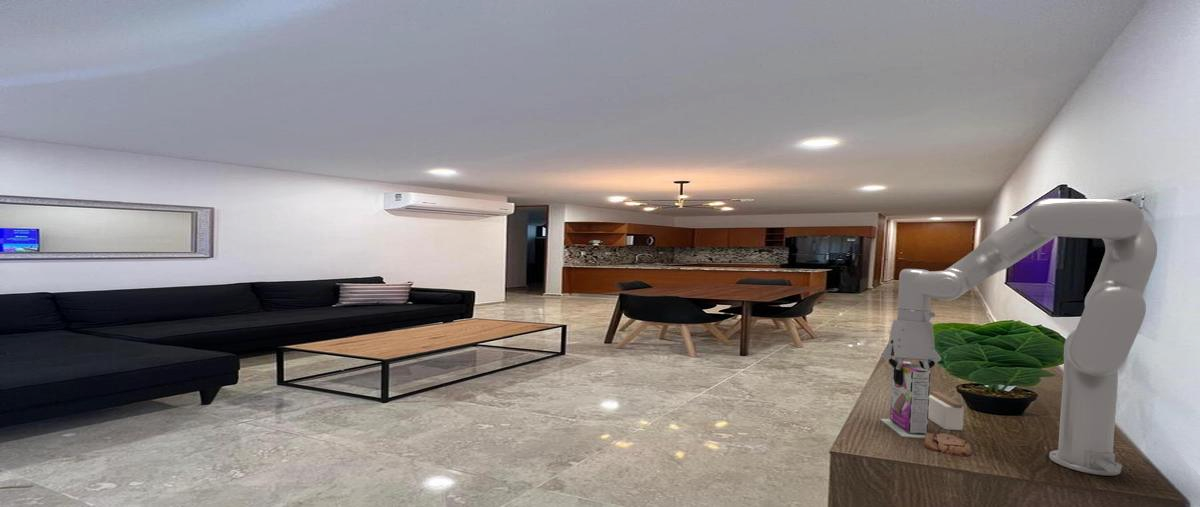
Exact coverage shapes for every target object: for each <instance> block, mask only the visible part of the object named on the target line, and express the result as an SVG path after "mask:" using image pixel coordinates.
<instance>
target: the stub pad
mask: <svg viewBox="0 0 1200 507" xmlns="http://www.w3.org/2000/svg"><path fill="white" fill-rule="evenodd" d="M879 420H880V421H881V422H883V424H885V425H887V427H889V428H890V429H891V430H893V431H894V432H895V433H897V434H898V435H899V436H900V437H902V438H912V439H913V438H915V439H925V435H926V434H913V433H909V432H907V431H906V430H904V429H903V428H902V427H900V426H899V425H897V424H896V423H894V422H893V421H891V420H890V418H880V419H879ZM928 433H929V432H927V434H928Z"/></svg>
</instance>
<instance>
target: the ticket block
mask: <svg viewBox="0 0 1200 507" xmlns="http://www.w3.org/2000/svg"><path fill="white" fill-rule="evenodd" d="M964 411H965V408H964V407H963V404H962V403H960V402H958V401H957V400H954V399H952V398H951V397H949V396H947V395H945V394H944V393H941V392H940V391H936V390H935V391H933V390H931V391H930V394H929V410H928V421H929V420H930V421H929V422H930V423H933V424H934V425H936V426H938V428H940V429H944V430H949V431H950V430H952V431H954V430H955V431H963V429H964V415H965V414H964Z"/></svg>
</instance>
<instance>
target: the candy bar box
mask: <svg viewBox="0 0 1200 507" xmlns="http://www.w3.org/2000/svg"><path fill="white" fill-rule="evenodd" d="M901 370H902V371H903V381H902V385H898V384H896V383H895V381H894V379H893V375H894V368H893V367H892V366H891V390H890V391H891V392H890V412H889V419H890V420H891V421H893V422H894V423H896V424H897V425H899V426H900V427H902V428H903V429H904V430H906V431H907V432H909V433H913V434H927V433H929V432H928V429H929V428H928V427H929V420H928V419H929V418H928V410H929V395H930V389H931V386H930V385H931V370H929V371H928V370H926V369H924V368H922V367H920V365H918V364H915V363H913V362H911V361H903V364H902V367H901Z"/></svg>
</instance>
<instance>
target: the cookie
mask: <svg viewBox="0 0 1200 507" xmlns="http://www.w3.org/2000/svg"><path fill="white" fill-rule="evenodd" d="M927 433H928V434H926V435H925V438H923V440H924V441H923V442H924V446H925V447H926V449H927V448H928V449H929V450H931V451H932V450H933V451H937V452H940V453H942V454H945V455H949V456H952V455H953V456H957V457H958V456H959V457H969V456H970V455H972V453H973V452H972V447H971V445H970V443H969V442H967V440H964V439H962V438H959V437H958V436H956V435H954V434H950V433H944V432H942V433H941V432H940V433H937V434H936V435H935V434H934V433H933V432H927Z"/></svg>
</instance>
